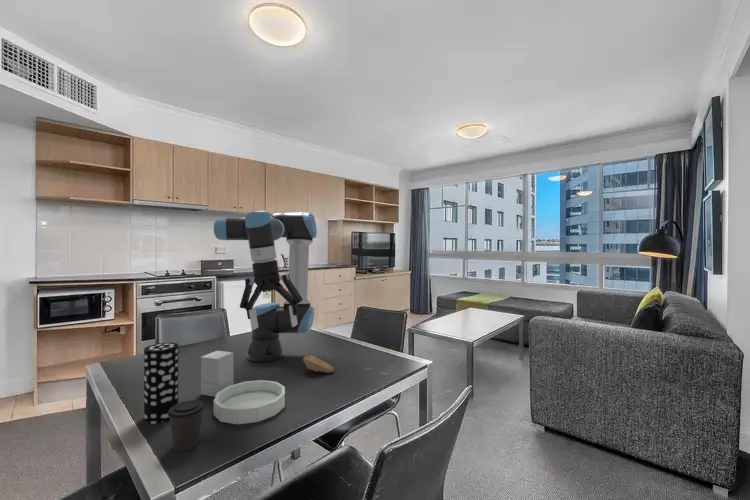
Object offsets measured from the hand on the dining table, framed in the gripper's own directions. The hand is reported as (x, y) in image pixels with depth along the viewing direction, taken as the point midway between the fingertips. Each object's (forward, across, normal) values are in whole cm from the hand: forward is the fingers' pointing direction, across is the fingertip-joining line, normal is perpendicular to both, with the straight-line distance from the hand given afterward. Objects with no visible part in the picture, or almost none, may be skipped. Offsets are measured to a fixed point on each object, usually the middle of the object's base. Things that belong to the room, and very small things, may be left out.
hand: (274, 327), depth 107 cm
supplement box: (+21, -24, 0) cm, 32 cm away
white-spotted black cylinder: (+19, -30, -17) cm, 39 cm away
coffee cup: (+20, -13, -28) cm, 37 cm away
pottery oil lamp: (+26, +2, +23) cm, 35 cm away
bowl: (+22, -8, -7) cm, 24 cm away
